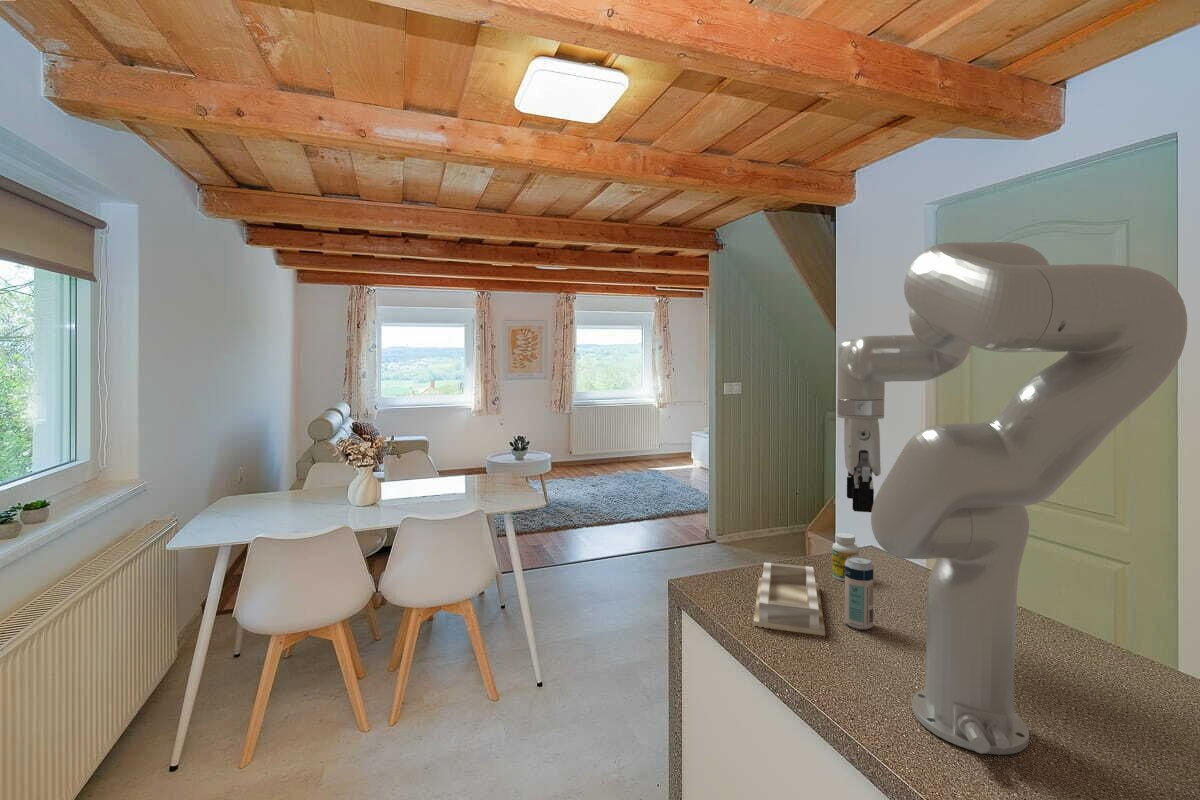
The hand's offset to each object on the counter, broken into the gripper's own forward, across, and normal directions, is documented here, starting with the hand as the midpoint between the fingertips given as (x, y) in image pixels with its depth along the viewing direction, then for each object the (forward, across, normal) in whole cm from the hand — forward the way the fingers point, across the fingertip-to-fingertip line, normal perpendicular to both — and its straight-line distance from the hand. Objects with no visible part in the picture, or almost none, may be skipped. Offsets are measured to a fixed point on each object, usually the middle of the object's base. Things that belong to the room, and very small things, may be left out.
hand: (859, 504), depth 98 cm
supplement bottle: (+22, +24, 0) cm, 33 cm away
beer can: (+22, 0, 0) cm, 22 cm away
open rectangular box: (+22, +5, +12) cm, 26 cm away
